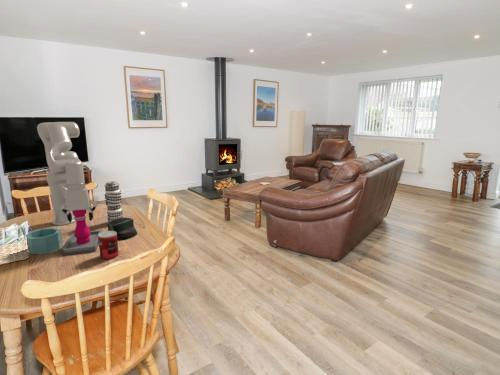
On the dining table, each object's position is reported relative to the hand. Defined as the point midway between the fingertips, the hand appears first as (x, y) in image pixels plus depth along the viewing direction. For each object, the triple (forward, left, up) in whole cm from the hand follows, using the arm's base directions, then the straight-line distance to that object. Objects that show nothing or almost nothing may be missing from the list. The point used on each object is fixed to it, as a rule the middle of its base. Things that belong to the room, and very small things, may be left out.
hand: (80, 220), depth 151 cm
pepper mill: (0, 0, -12) cm, 12 cm away
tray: (0, 0, -13) cm, 13 cm away
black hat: (-7, +17, -13) cm, 23 cm away
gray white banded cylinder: (-30, +12, -13) cm, 35 cm away
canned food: (+18, +14, -13) cm, 26 cm away
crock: (0, -17, -13) cm, 21 cm away
